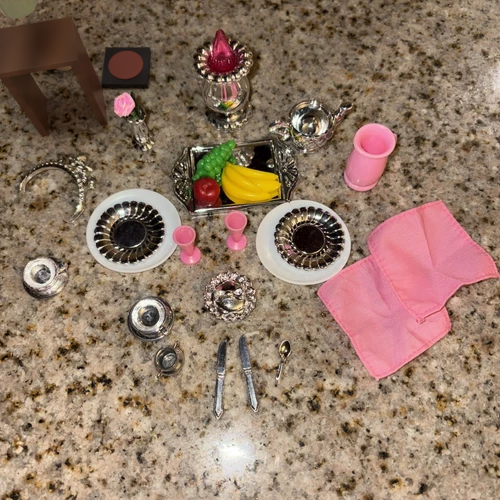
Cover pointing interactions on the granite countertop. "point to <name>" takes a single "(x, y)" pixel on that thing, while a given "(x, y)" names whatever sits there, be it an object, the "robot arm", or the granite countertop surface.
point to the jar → (17, 8)
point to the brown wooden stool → (46, 66)
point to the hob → (126, 67)
